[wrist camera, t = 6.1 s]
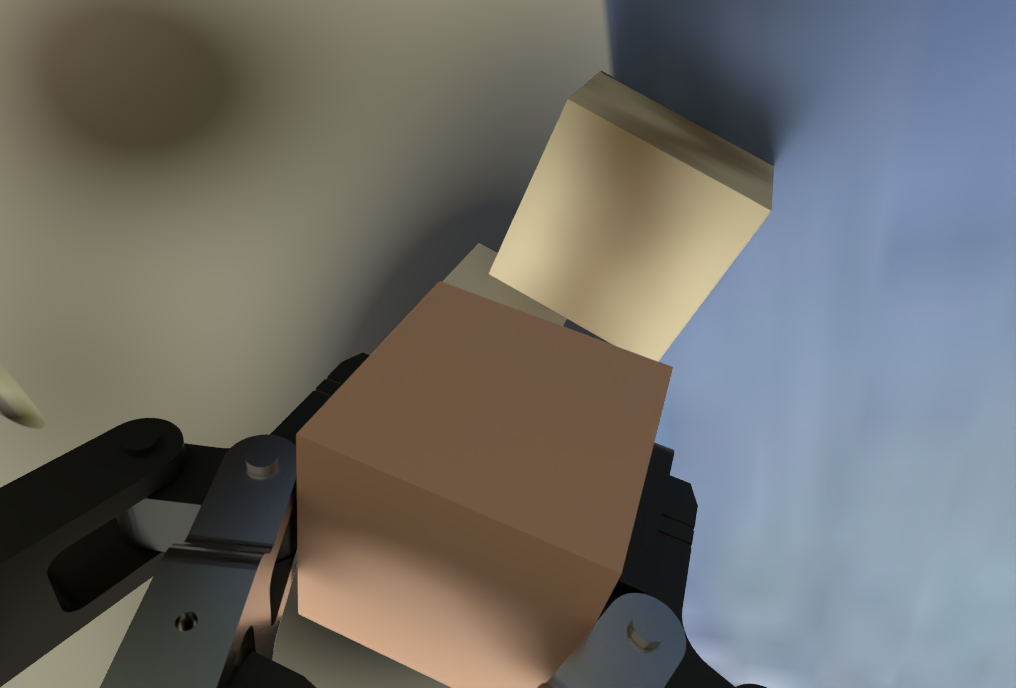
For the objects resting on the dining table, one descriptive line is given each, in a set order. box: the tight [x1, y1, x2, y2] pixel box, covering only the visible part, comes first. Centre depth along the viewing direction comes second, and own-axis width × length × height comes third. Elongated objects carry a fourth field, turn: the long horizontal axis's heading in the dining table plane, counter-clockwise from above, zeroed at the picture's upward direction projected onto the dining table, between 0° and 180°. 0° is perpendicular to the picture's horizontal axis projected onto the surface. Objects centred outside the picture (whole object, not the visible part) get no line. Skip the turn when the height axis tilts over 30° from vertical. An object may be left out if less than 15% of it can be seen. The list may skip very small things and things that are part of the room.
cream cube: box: [442, 242, 567, 326], centre depth 28 cm, size 5×5×5 cm
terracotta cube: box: [296, 281, 673, 688], centre depth 12 cm, size 5×5×5 cm
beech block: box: [489, 71, 774, 361], centre depth 23 cm, size 7×7×4 cm
